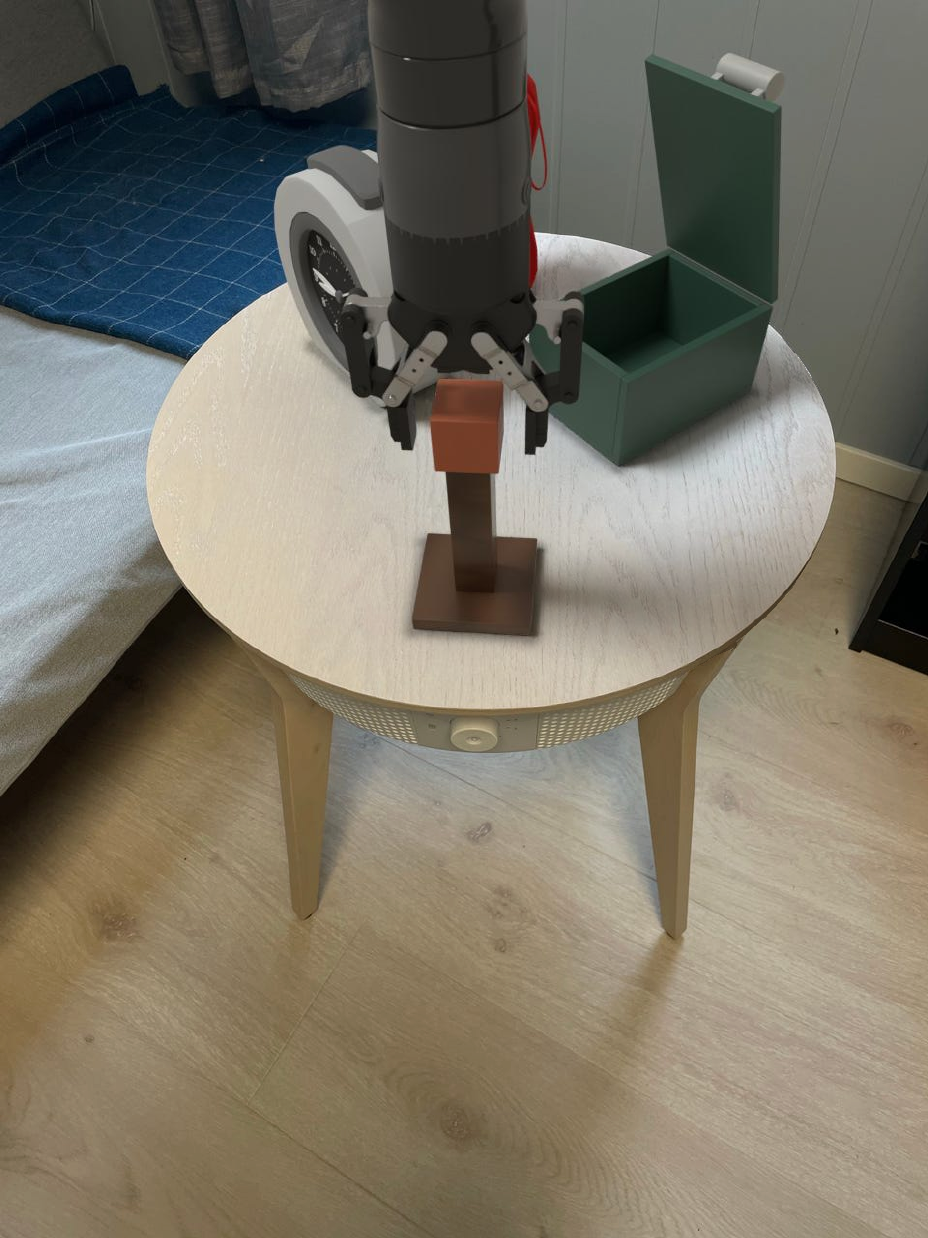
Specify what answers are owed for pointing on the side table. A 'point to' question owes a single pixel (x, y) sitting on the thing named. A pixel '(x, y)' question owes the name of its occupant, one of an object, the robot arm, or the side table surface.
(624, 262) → the side table surface
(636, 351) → the bin
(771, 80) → the bin lid
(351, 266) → the alarm clock
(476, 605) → the stand
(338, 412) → the side table surface
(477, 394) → the block
